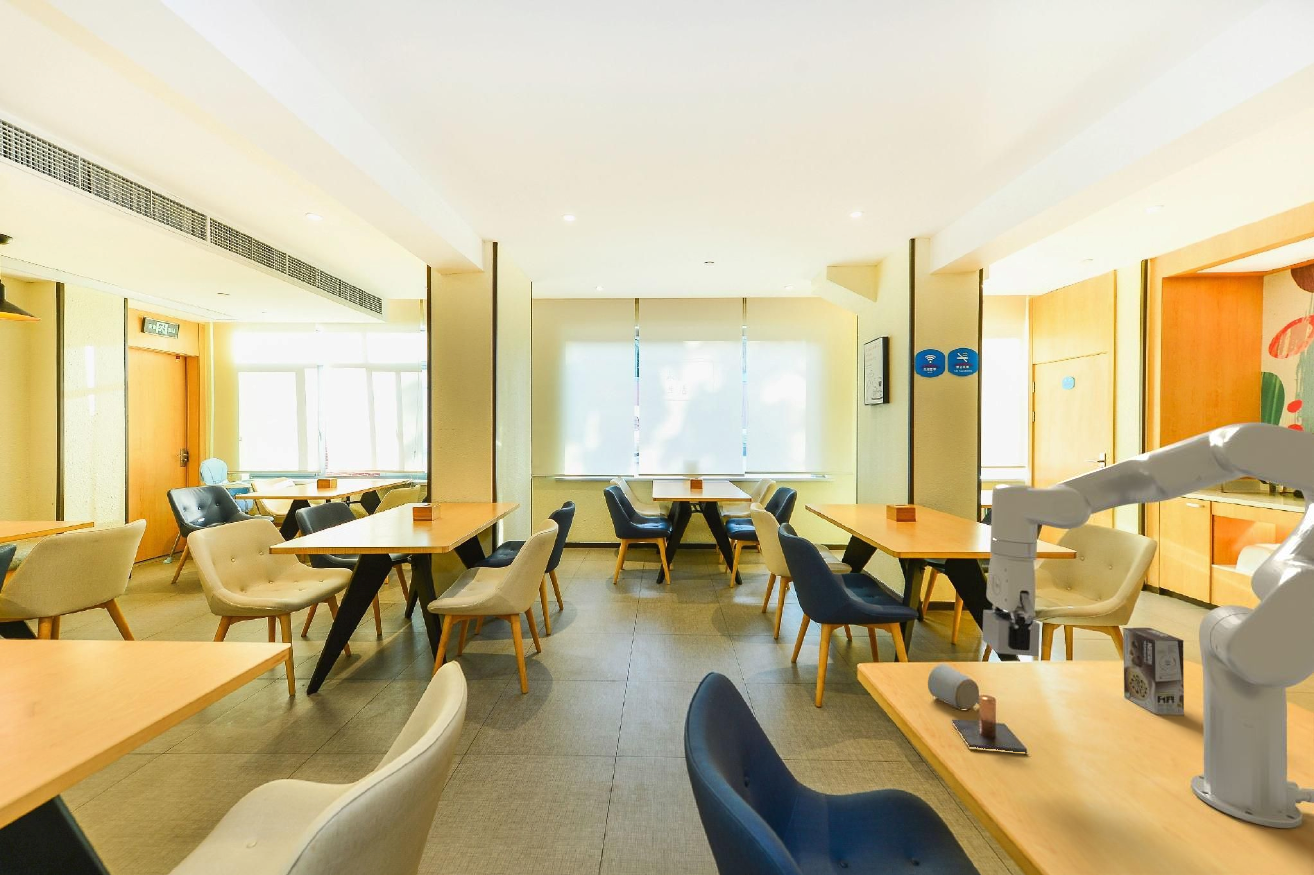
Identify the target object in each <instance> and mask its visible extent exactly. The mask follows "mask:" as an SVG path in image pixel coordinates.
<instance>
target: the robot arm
mask: <svg viewBox="0 0 1314 875" xmlns="http://www.w3.org/2000/svg"><path fill="white" fill-rule="evenodd" d="M1245 477H1248V478H1249V477H1250V478H1253V479H1257V480H1261V481H1265V482H1267V483H1271V484H1275V485H1278V486H1280V487H1281V486H1282V487H1285V488H1289V489H1292V490H1297V491H1299V492H1300V491H1301V493H1302V495H1303V498H1304V503H1305V504H1304V505H1305V507H1304V513H1303V515H1302V518H1301V519H1300V521H1299V522H1298V524H1297V525H1296V526H1295V527H1294V529H1293V530H1292V531H1291V533H1290V534H1289V535H1288V536H1287V537H1286V539H1284V541H1283V542H1281V543H1280V545H1279V546H1278V547H1277V548H1276V549H1274V551H1273V552H1272V553H1271V554H1270V555H1269V556H1268V557H1267V558H1266V560H1264V561H1263V563H1262V564H1260V565H1259V566H1258V567H1257V568H1256V570H1255V571H1254V573H1253V574H1252V576H1251V580H1250V586H1251V589H1252V592H1253V594H1254V595H1255V597H1256V598H1257V599H1258V600H1259V603H1258V604H1257V605H1256V606H1255V607H1254V609H1252V608H1250V607H1247V606H1241V605H1232V604H1231V605H1222V606H1218V607H1216V608H1213V609H1211V610H1210V611H1209V612H1207V613H1206V614H1205V616H1203V618H1202V619H1201V622H1200V624H1199V630H1198V639H1199V640H1198V641H1199V648H1200V656H1201V664H1202V678H1203V679H1202V680H1203V681H1202V682H1203V683H1202V684H1203V685H1202V686H1203V687H1202V688H1203V689H1202V690H1203V693H1202V694H1203V701H1202V702H1203V705H1202V706H1203V707H1202V708H1203V709H1202V710H1203V714H1202V715H1203V774H1199V775H1195V776H1194V777H1192V778H1191V779H1190V787H1191V790H1192V791H1193V793H1194V794H1195V795H1196V796H1197V797H1198V798H1199V799H1201V800H1202V801H1203V802H1205V803H1206V804H1207V805H1209V806H1211V807H1213V808H1215V809H1216V810H1218V811H1221V812H1223V813H1225V814H1227V815H1230V816H1233V817H1235V818H1237V819H1240V820H1242V821H1247V822H1248V823H1249V822H1250V823H1253V824H1258V825H1261V826H1266V827H1271V828H1279V829H1280V828H1281V829H1289V828H1290V829H1292V828H1297V827H1299V826H1301V825H1302V823H1303V814H1302V812H1301V810H1300V808H1299V807H1297V806H1296V804H1301V803H1302V802H1306V803H1311V804H1314V788H1305V787H1304V788H1299V785H1298V783H1297V782H1296V781H1291V780H1288V734H1287V733H1288V732H1287V731H1288V730H1287V729H1288V727H1287V724H1288V719H1287V718H1288V703H1287V700H1288V699H1287V689H1286V688H1290V687H1293V686H1296V685H1298V684H1300V683H1302V682H1304V681H1305V680H1306V679H1308V678H1309V677H1311V676H1312V675H1313V674H1314V433H1311V432H1306V431H1303V430H1298V429H1296V428H1295V429H1294V428H1290V427H1285V426H1281V425H1277V424H1272V423H1267V422H1243V423H1242V422H1241V423H1239V422H1238V423H1233V424H1228V425H1225V426H1221V427H1217V428H1215V429H1212V430H1209V431H1207V432H1203V433H1200V434H1198V435H1194V436H1192V437H1189V438H1185V439H1183V440H1180V441H1177V442H1174V443H1171V444H1169V445H1166V446H1163V447H1160V448H1156V449H1154V450H1151V451H1147V452H1144V453H1142V454H1139V455H1136V456H1133V457H1128V458H1127V459H1123V460H1122V461H1118V462H1117V463H1113V464H1112V465H1108V466H1105V467H1102V468H1099V469H1096V470H1092V471H1090V472H1087V473H1084V474H1081V475H1077V476H1075V477H1071V478H1069V479H1066V480H1064V481H1060V482H1057V483H1055V484H1052V485H1049V486H1047V487H1046V488H1039V487H1038V488H1036V487H1034V486H1031V485H1026V484H1017V483H1016V484H1015V483H1000V484H997V485H995V486H994V487H993V489H992V495H991V496H992V500H991V519H990V520H991V521H990V522H991V524H990V551H989V552H990V553H989V555H990V558H989V562H988V563H989V565H988V571H987V581H986V582H987V583H986V592H985V593H986V595H985V597H986V598H987V600H988V601H989V602H990V603H991V604H992V606H991V610H994V611H1005V612H1010V613H1011V619H1012V625H1013V627H1010V648H1011V649H1014V650H1027V651H1028V650H1029V649H1030V630H1031V628H1032V626H1031V624H1032V623H1033V620H1034V619H1035V618H1036V615H1037V614H1036V611H1035V606H1036V605H1035V604H1036V573H1035V564H1034V563H1035V562H1034V561H1037V552H1038V551H1037V550H1038V549H1037V548H1038V525H1041V526H1045V527H1051V528H1056V529H1061V530H1073V529H1077V528H1079V527H1081V526H1084V525H1085V524H1086V523H1087V522H1088V521H1089V519H1090V517H1091V515H1093V514H1097V513H1099V512H1102V511H1103V512H1104V511H1107V510H1109V509H1114V508H1119V507H1121V506H1126V505H1127V506H1129V505H1133V504H1134V505H1135V504H1150V503H1151V504H1152V503H1153V504H1154V503H1159V502H1165V501H1170V500H1173V499H1177V498H1180V497H1182V496H1186V495H1189V494H1192V493H1194V492H1195V493H1196V492H1199V491H1201V490H1206V489H1208V488H1211V487H1215V486H1218V485H1222V484H1225V483H1229V482H1232V481H1236V480H1238V479H1241V478H1245ZM1016 609H1020V610H1016ZM1017 615H1023V617H1022V616H1021V617H1020V618H1019V619H1018V620H1017Z"/></svg>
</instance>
